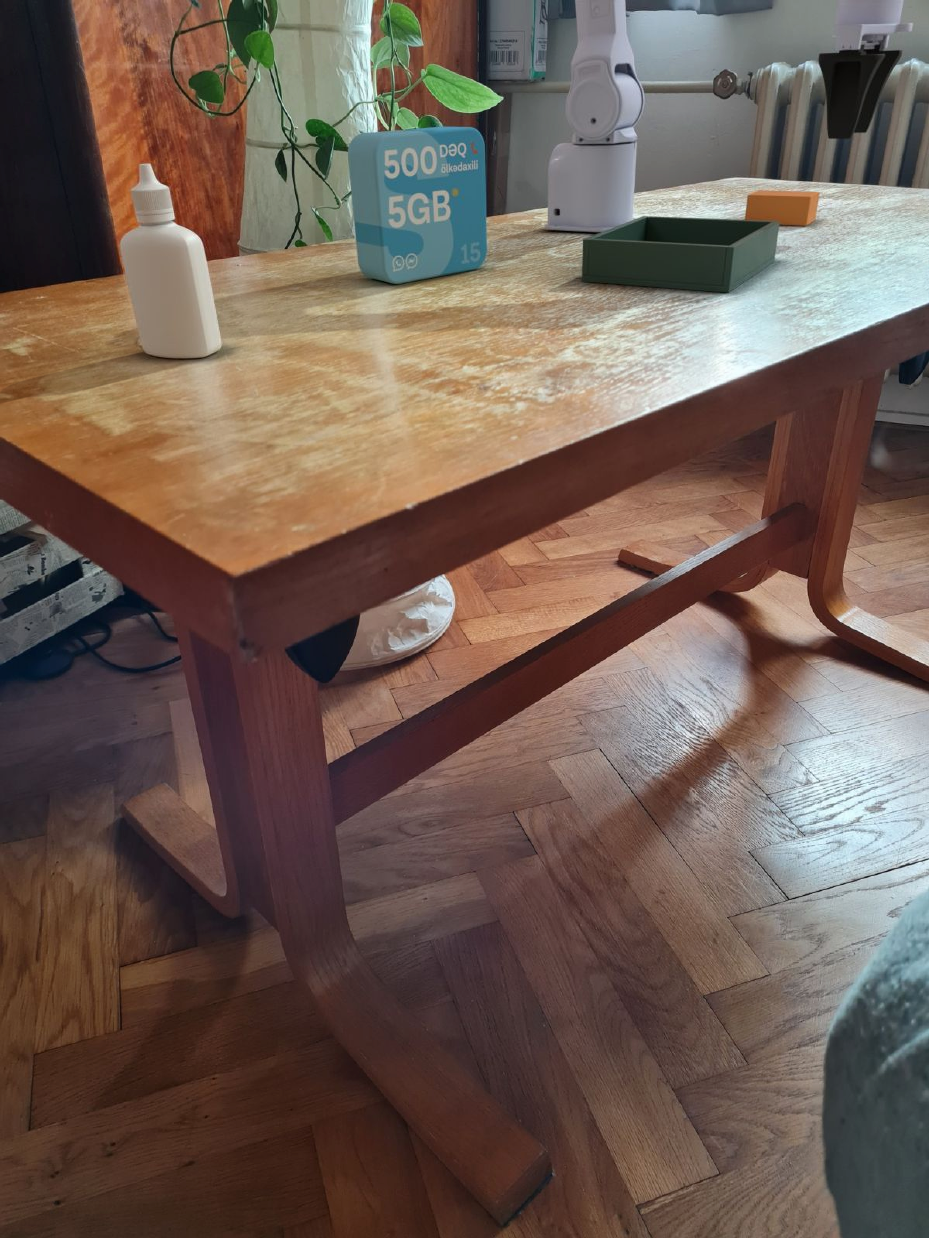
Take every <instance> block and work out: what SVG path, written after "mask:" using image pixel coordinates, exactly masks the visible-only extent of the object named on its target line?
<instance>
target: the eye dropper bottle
mask: <svg viewBox="0 0 929 1238" xmlns="http://www.w3.org/2000/svg"><path fill="white" fill-rule="evenodd" d="M138 173H139V180H138V183H137V184H136V185H135V186H133V187H132V188H131V189H130V194H131V200H132V204H133V209H134V214H135V218H136V222H137V223H140V224H139V225H138V226H137V227H135V228H133V229H131V230H130V231H128V232H126V233H125V234H124V235H123V236H122V238H121V239H120V242H119V249H120V255H121V260H122V264H123V271H124V275H125V278H126V283H127V287H128V292H129V296H130V301H131V305H132V310H133V313H134V319H135V323H136V327H137V331H138V336H139V340H140V344H141V347H142V350H143V351H144V353H145V354H147V355H149V356H153V357H159V358H163V359H164V358H165V359H166V358H167V359H199V358H205V357H208V356H211V355H212V354H214V353H217V352H219V350H221V348H222V338H221V337H222V336H221V332H220V326H219V321H218V315H217V309H216V305H215V298H214V293H213V287H212V283H211V278H210V277H211V276H210V272H209V266H208V261H207V256H206V251H205V247H204V243H203V241H202V239H201V238H200V236H199V235H197V233H195V232H194V231H192V230H190V229H188V228H186V227H184V226H182V225H179V224H177V223H176V222H175V221H174V220H175V219H176V217H175V211H174V206H173V200H172V196H171V190H170V187H169V186H168V185H165V184H162V183H161V182H160V181H159V180H158V179H157V177H156V175H155V173H154V170H153V167H152V165H151V163H140V164H138Z"/></svg>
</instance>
